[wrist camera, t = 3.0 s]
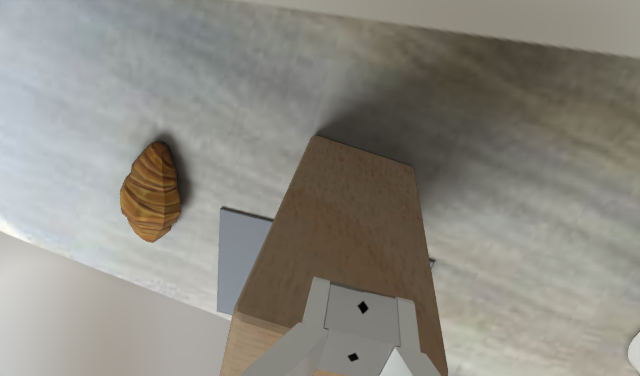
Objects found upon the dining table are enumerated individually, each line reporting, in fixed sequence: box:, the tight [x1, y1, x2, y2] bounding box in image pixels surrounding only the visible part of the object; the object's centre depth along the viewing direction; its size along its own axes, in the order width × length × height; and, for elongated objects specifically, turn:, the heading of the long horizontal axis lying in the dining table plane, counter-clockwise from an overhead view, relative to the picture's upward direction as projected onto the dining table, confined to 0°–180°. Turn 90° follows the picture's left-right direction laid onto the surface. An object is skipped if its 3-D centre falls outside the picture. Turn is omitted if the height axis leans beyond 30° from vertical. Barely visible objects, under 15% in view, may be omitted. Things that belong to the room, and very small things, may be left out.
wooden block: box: [220, 136, 448, 376], centre depth 25 cm, size 10×10×20 cm
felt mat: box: [217, 208, 434, 315], centre depth 42 cm, size 24×18×1 cm
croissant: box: [120, 142, 181, 243], centre depth 36 cm, size 14×7×5 cm, turn 161°
